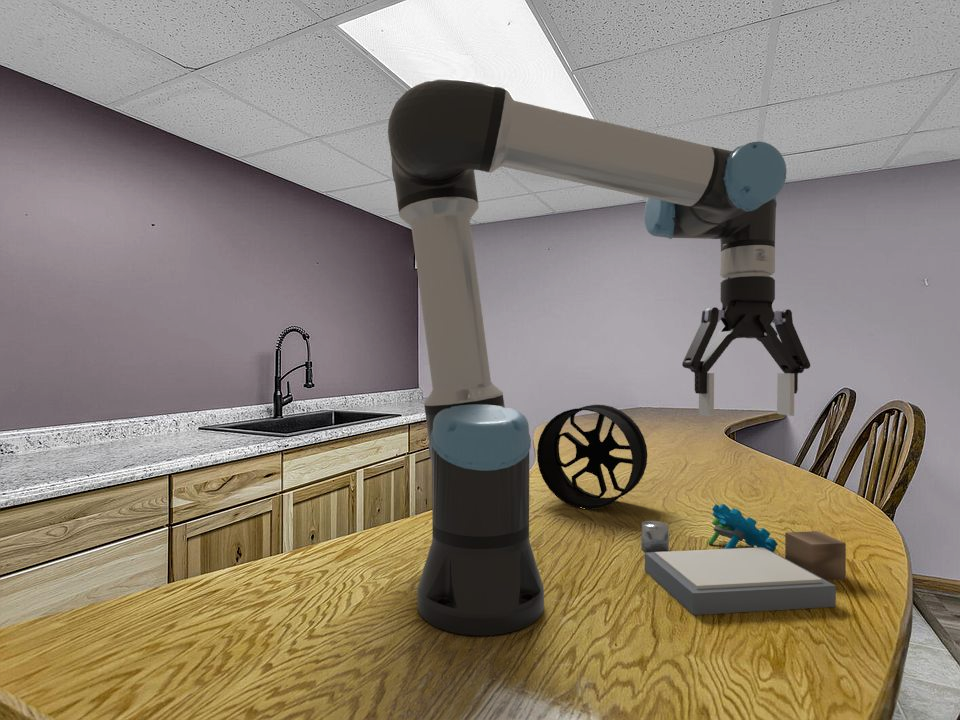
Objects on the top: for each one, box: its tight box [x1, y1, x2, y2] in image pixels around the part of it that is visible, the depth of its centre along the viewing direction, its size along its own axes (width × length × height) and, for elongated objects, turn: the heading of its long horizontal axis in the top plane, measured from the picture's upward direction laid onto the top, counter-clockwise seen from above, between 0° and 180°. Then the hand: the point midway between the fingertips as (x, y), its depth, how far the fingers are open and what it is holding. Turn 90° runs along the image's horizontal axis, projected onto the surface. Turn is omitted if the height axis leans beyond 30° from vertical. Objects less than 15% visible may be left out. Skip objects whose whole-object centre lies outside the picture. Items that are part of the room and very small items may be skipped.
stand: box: [644, 547, 837, 616], centre depth 68 cm, size 18×13×3 cm
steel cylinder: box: [640, 520, 670, 554], centre depth 82 cm, size 4×4×4 cm
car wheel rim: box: [536, 404, 648, 511], centre depth 108 cm, size 20×10×20 cm, turn 58°
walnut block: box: [784, 530, 847, 582], centre depth 73 cm, size 5×5×5 cm
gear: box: [707, 503, 778, 553], centre depth 81 cm, size 11×6×10 cm
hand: (746, 415), depth 81 cm, fingers open, 13 cm apart
